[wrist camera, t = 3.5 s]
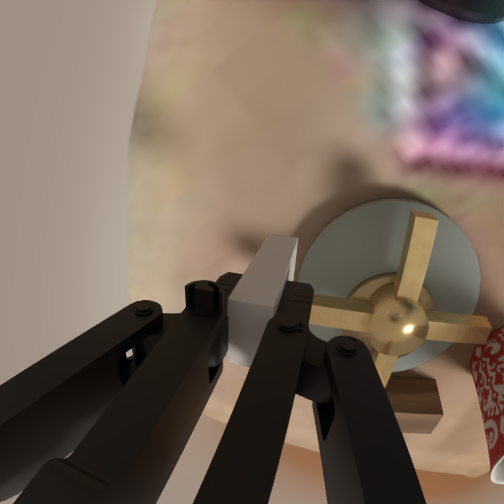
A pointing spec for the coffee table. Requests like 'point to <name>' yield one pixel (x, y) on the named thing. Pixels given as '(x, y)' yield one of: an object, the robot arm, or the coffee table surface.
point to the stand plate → (391, 263)
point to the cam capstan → (399, 306)
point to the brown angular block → (415, 403)
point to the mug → (491, 398)
